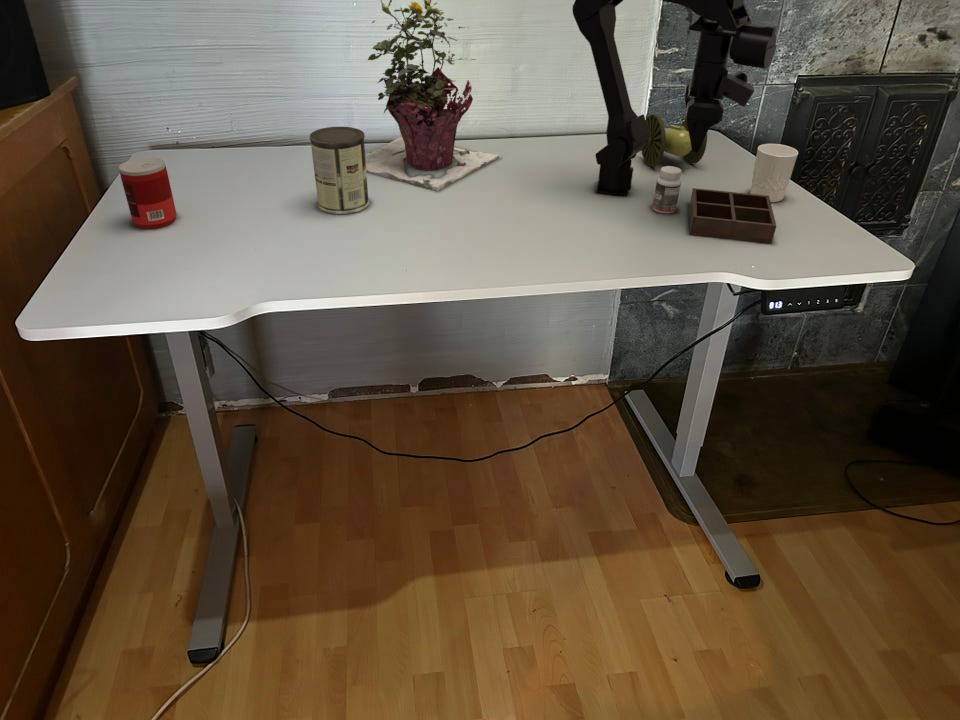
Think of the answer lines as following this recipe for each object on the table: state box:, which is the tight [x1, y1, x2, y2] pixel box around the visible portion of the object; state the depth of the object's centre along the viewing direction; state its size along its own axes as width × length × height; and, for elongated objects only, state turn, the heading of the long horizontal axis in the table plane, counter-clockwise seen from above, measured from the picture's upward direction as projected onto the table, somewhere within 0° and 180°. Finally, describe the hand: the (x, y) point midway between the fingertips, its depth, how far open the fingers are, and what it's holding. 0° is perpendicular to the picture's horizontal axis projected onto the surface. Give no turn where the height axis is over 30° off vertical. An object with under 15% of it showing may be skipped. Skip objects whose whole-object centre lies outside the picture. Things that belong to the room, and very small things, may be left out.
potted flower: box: [365, 0, 500, 192], centre depth 161 cm, size 27×25×35 cm
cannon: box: [641, 113, 708, 167], centre depth 174 cm, size 25×12×11 cm, turn 13°
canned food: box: [118, 156, 177, 230], centre depth 138 cm, size 8×8×11 cm
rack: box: [688, 187, 777, 245], centre depth 145 cm, size 15×15×4 cm
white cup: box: [749, 143, 799, 203], centre depth 155 cm, size 8×8×10 cm
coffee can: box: [309, 126, 370, 215], centre depth 145 cm, size 10×10×14 cm
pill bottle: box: [652, 165, 682, 214], centre depth 148 cm, size 5×5×8 cm
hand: (694, 144), depth 144 cm, fingers open, 9 cm apart
